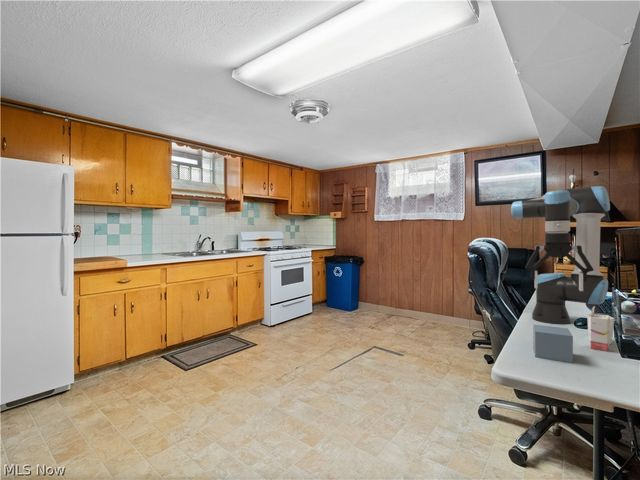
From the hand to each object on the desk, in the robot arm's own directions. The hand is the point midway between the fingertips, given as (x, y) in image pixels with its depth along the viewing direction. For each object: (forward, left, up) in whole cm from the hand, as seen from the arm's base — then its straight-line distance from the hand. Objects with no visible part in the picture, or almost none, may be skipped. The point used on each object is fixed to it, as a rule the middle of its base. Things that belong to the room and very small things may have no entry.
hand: (557, 289), depth 119 cm
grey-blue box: (+11, -3, -22) cm, 25 cm away
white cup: (-15, +15, -22) cm, 31 cm away
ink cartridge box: (-7, +14, -22) cm, 27 cm away
